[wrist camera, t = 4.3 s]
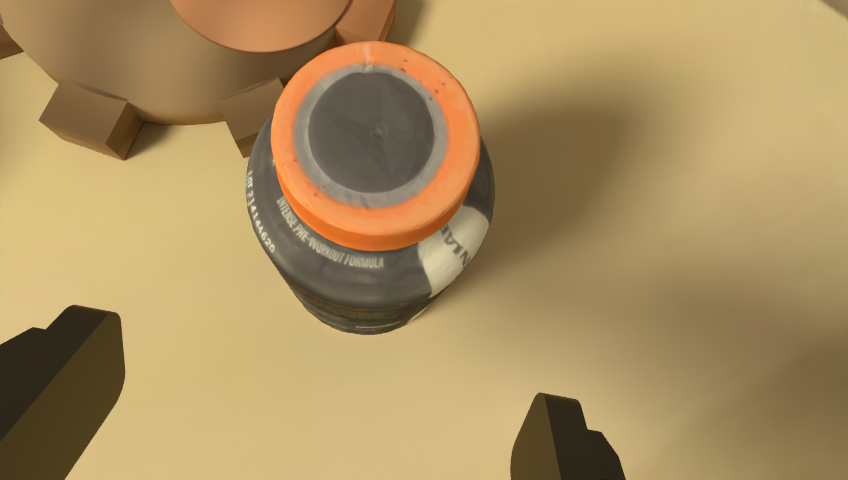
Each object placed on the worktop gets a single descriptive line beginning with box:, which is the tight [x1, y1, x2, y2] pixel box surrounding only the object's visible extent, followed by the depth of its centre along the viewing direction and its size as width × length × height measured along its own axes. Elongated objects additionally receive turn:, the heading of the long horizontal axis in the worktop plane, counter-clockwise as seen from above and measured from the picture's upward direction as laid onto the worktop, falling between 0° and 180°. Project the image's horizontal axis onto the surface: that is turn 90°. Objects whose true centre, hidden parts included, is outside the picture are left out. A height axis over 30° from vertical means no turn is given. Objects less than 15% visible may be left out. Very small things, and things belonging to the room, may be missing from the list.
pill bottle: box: [246, 41, 494, 335], centre depth 16 cm, size 6×6×11 cm
